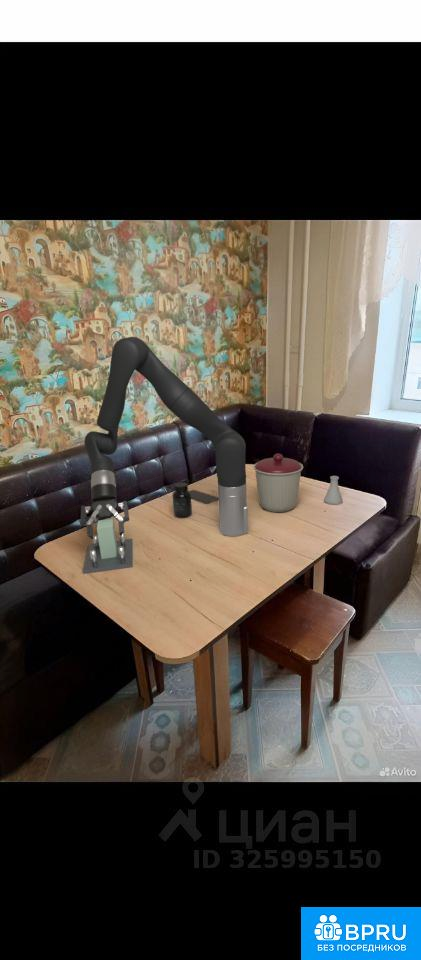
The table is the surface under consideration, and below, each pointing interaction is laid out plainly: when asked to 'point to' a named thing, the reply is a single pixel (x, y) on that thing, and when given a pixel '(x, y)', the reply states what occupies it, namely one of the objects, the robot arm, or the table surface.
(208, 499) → the smartphone
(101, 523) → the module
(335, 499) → the flask
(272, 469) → the canister
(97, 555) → the plate
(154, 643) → the table surface
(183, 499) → the supplement bottle
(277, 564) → the table surface
